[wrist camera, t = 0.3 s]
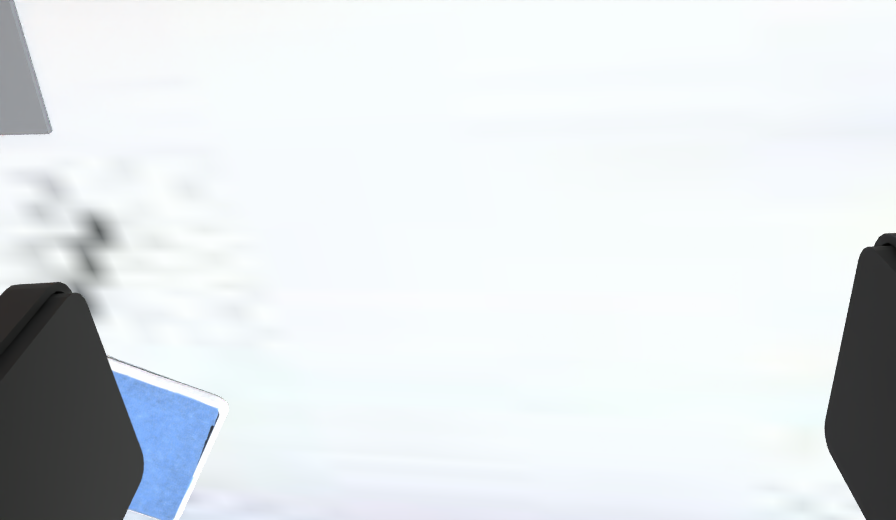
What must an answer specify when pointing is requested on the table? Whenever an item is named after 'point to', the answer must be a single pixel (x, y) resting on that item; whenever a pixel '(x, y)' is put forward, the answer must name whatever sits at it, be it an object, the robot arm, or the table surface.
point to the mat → (18, 80)
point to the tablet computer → (168, 437)
